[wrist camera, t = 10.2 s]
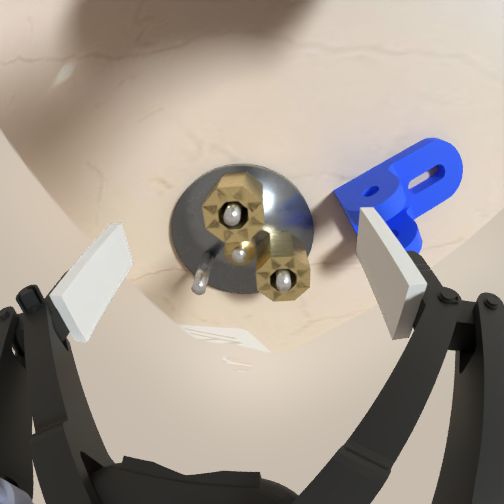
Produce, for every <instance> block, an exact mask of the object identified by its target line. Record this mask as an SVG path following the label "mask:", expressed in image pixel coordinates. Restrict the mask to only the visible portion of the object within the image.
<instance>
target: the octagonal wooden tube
mask: <svg viewBox="0 0 504 504" xmlns="http://www.w3.org/2000/svg"><path fill="white" fill-rule="evenodd" d="M232 201H239V202H240V203H241V204H242V205H244V206H245V207H243V208H242V210H241V216H240V221H239V223H238V224H236V225H234V226H230V225H227V224H226V223H225V222H224V219H223V216H224V213H225V210H226V207H227V202H232ZM202 209H203V215H204V222H205V228H206V229H207V230H208V231H209V232H211V233H212V234H213V235H215V236H216V237H217V238H219V239H220V240H221V241H223V242H224V243H231V242H248V241H249V240H250V239H251V238H252V237H253V236H254V235H255V234H256V233H257V232H258V231H259V230H260V229H261V228H262V227H263V226H264V197H263V184H262V183H260V182H259V181H258V180H257V179H256V178H254V177H253V176H252V175H251V174H249V173H248V172H247V171H237V172H225V173H224V174H223V175H222V176H221V177H220V179H219V180H218V181H217V182H216V183H215V185H214V186H213V187H212V188H211V190H210V192H209V194H208V196H207V198H206V200H205V202H204V203H203V205H202Z"/></svg>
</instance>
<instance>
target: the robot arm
mask: <svg viewBox="0 0 504 504" xmlns="http://www.w3.org/2000/svg"><path fill="white" fill-rule="evenodd" d="M356 254H357V256H358V258H359V260H360V263H361V265H362V267H363V269H364V272H365V274H366V276H367V278H368V281H369V283H370V285H371V288H372V290H373V292H374V295H375V297H376V300H377V302H378V304H379V307H380V309H381V311H382V314H383V317H384V319H385V322H386V324H387V327H388V329H389V332H390V335H391V338H392V340H396V339H402V338H409V336H410V333H411V331H412V328H414V332H413V334H412V337H411V338H410V340H409V342H408V344H407V346H406V348H405V350H404V352H403V354H402V356H401V358H400V359H399V361H398V363H397V365H396V367H395V368H394V370H393V372H392V374H391V375H390V377H389V379H388V380H387V382H386V384H385V385H384V387H383V389H382V390H381V392H380V394H379V395H378V397H377V398H376V400H375V401H374V403H373V405H372V406H371V408H370V409H369V411H368V412H367V414H366V415H365V417H364V418H363V420H362V421H361V422H360V424H359V425H358V427H357V428H356V430H355V431H354V432H353V434H352V435H351V436H350V438H349V439H348V440H347V442H346V443H345V444H344V445H343V446H342V447H341V448H340V449H339V450H338V451H337V452H336V453H335V455H334V456H333V457H332V458H331V460H330V461H329V462H328V463H327V464H326V466H325V467H324V468H323V469H322V470H321V472H320V473H319V474H318V475H317V476H316V477H315V478H314V480H313V481H312V482H311V483H310V484H309V485H308V486H307V488H305V490H304V491H303V492H302V493H301V494H300V495H297V494H296V493H295V492H293V491H292V490H290V489H288V488H287V487H285V486H283V485H281V484H279V483H276V482H273V481H270V480H266V479H262V478H261V475H260V472H236V471H219V472H212V473H204V474H196V475H183V474H180V473H178V472H175V471H173V470H170V469H168V468H166V467H163V466H161V465H159V464H156V463H154V462H150V461H145V460H140V459H135V458H131V457H127V456H124V457H123V461H122V463H117V464H115V463H114V462H113V460H112V459H111V458H110V456H109V455H108V453H107V451H106V449H105V446H104V444H103V442H102V439H101V437H100V434H99V432H98V430H97V427H96V425H95V422H94V419H93V417H92V414H91V411H90V409H89V406H88V403H87V400H86V397H85V394H84V391H83V389H82V385H81V382H80V379H79V375H78V372H77V369H76V365H75V361H74V358H73V354H72V351H71V346H70V343H69V341H68V339H67V338H66V337H67V335H68V333H69V332H70V334H71V335H72V337H73V338H74V340H75V341H79V342H86V343H87V342H88V340H89V338H90V336H91V335H92V333H93V331H94V329H95V327H96V325H97V324H98V322H99V320H100V318H101V316H102V315H103V313H104V311H105V309H106V308H107V306H108V304H109V303H110V301H111V299H112V297H113V296H114V294H115V293H116V291H117V289H118V287H119V286H120V284H121V283H122V281H123V279H124V278H125V276H126V274H127V273H128V271H129V270H130V268H131V266H132V265H133V263H134V262H133V259H132V256H131V253H130V250H129V246H128V243H127V240H126V236H125V233H124V230H123V226H122V223H121V222H120V223H111V224H110V225H109V226H108V227H107V228H106V229H105V230H104V231H103V232H102V233H101V234H100V235H99V236H98V238H97V239H96V240H95V241H94V242H93V243H92V244H91V245H90V246H89V248H88V249H87V250H86V251H85V252H84V253H83V254H82V256H81V257H80V258H79V259H78V260H77V261H76V263H75V264H74V265H73V266H72V267H71V269H70V270H68V271H67V272H66V273H65V274H64V275H63V276H62V277H61V279H60V280H59V281H58V282H57V284H56V285H55V286H54V288H53V289H52V290H51V291H50V292H49V294H48V295H47V296H46V298H45V299H44V298H43V296H42V294H41V292H40V290H39V288H38V286H37V285H30V286H27V287H25V288H24V289H22V290H21V291H20V292H19V293H18V295H17V296H16V301H17V302H18V304H19V306H20V307H21V309H22V311H23V313H21V314H17V313H16V312H15V310H14V308H13V307H11V306H10V307H6V308H3V309H2V310H1V311H0V504H33V502H32V498H33V464H32V459H33V463H34V467H35V470H36V474H37V477H38V481H39V484H40V487H41V490H42V494H43V497H44V499H45V502H46V504H370V503H371V502H372V501H373V499H374V498H375V496H376V495H377V493H378V492H379V491H380V489H381V488H382V486H383V485H384V483H385V482H386V480H387V478H388V476H389V474H390V472H391V468H392V466H393V464H394V462H395V461H396V459H397V457H398V456H399V454H400V452H401V450H402V449H403V447H404V445H405V443H406V442H407V440H408V438H409V436H410V434H411V432H412V431H413V429H414V427H415V425H416V423H417V421H418V419H419V417H420V415H421V413H422V411H423V409H424V406H425V404H426V402H427V400H428V398H429V395H430V393H431V391H432V388H433V386H434V384H435V381H436V379H437V376H438V374H439V371H440V369H441V366H442V363H443V361H444V358H445V355H446V353H447V350H455V351H456V355H455V356H456V357H455V378H454V390H453V391H454V392H453V401H452V410H451V417H450V425H449V431H448V437H447V443H446V448H445V453H444V458H443V463H442V467H441V471H440V476H439V479H438V483H437V487H436V490H435V494H434V497H433V501H432V504H504V304H503V302H502V301H501V300H500V298H498V297H497V296H496V295H494V294H491V293H482V294H480V295H479V297H478V298H477V301H476V302H469V301H463V300H461V297H460V296H459V294H458V293H457V292H455V291H454V290H452V289H450V288H447V287H443V286H442V285H441V283H440V282H439V280H438V279H437V277H436V276H435V275H434V273H433V272H432V270H430V267H429V266H428V265H427V263H426V262H425V260H424V259H423V258H422V256H420V255H419V254H418V253H416V252H415V251H405V249H404V248H403V246H402V245H401V244H400V242H399V241H398V239H397V238H396V237H395V235H394V234H393V232H392V231H391V230H390V228H389V227H388V226H387V224H386V223H385V222H384V220H383V219H382V218H381V216H380V215H379V214H378V212H377V211H376V210H375V209H374V207H360V214H359V226H358V237H357V247H356ZM12 348H13V349H14V351H15V355H14V354H13V352H12ZM32 416H33V421H34V427H35V434H33V435H32Z"/></svg>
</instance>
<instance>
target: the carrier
mask: <svg viewBox="0 0 504 504" xmlns="http://www.w3.org/2000/svg"><path fill="white" fill-rule="evenodd" d="M237 171H247V172H248V173H249V174H251V175H252V176H253V177H254V178H256V179H257V180H258V181H259V182H260V183H262V184H263V197H264V226H263V227H262V228H261V229H260V230H259V231H258V232H257V233H256V234H255V235H254V236H253V237H252V238H251V239H250V240H249V241H248V242H231V243H224V242H223V241H221V240H220V239H219V238H217V237H216V236H215V235H213V234H212V233H211V232H209V231H208V230H207V229H206V228H205V222H204V215H203V209H202V205H203V203H204V202H205V200H206V198H207V196H208V194H209V192H210V190H211V188H212V187H213V186H214V185H215V183H216V182H217V181H218V180H219V179H220V177H221V176H222V175H223V174H224V173H225V172H237ZM243 207H245V206H244V205H242V204H241V203H240V202H239V201H232V202H227V207H226V210H225V213H224V216H223V219H224V222H225V223H226V224H227V225H230V226H234V225H236V224H238V223H239V221H240V216H241V210H242V208H243ZM172 234H173V241H174V244H175V248H176V250H177V252H178V255H179V257H180V258H181V260H182V262H183V263H184V264H185V266H186V267H187V268H188V269H189V270H190V271H191V272H192V273H193V274H194V275H195V278H194V281H193V284H192V288H191V289H192V291H193V292H194V293H195V294H197V295H202V294H204V293H205V290H206V286H207V284H208V285H210V286H212V287H214V288H217V289H220V290H223V291H227V292H231V293H239V294H250V293H258V292H261V293H262V294H263V295H265V296H266V297H268V298H269V299H271V300H272V301H291V300H295V299H297V298H298V297H299V296H300V295H301V294H303V293H304V292H305V291H306V290H307V289H308V288H310V266H309V262H308V258H307V257H308V255H309V253H310V250H311V247H312V243H313V234H314V230H313V221H312V216H311V213H310V210H309V208H308V205H307V203H306V201H305V199H304V197H303V196H302V194H301V193H300V192H299V190H298V189H297V188H296V187H295V186H294V185H293V184H292V183H291V182H290V181H289V180H288V179H286V178H285V177H284V176H282V175H280V174H279V173H277V172H275V171H273V170H270V169H268V168H265V167H262V166H258V165H252V164H231V165H225V166H222V167H218V168H215V169H213V170H211V171H209V172H207V173H205V174H204V175H202V176H200V177H199V178H198V179H197V180H195V181H194V182H193V183H192V184H191V185H190V186H189V187H188V189H187V190H186V191H185V192H184V194H183V195H182V197H181V198H180V200H179V202H178V204H177V206H176V209H175V212H174V216H173V222H172Z"/></svg>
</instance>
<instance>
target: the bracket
mask: <svg viewBox="0 0 504 504" xmlns="http://www.w3.org/2000/svg"><path fill="white" fill-rule="evenodd" d="M436 165H438V171H437V173H436V174H435V175H433V176H431V177H430V178H428V179H426V180H425V181H423V182H421V183H420V184H418V185H416V186H415V187H413V188H411V189H408V184H409V182H410V181H411V180H412V179H414V178H416V177H417V176H419V175H421V174H423V173H424V172H426V171H428V170H429V169H431V168H433V167H434V166H436ZM462 173H463V165H462V160H461V157H460V154H459V153H458V151H457V150H456V148H455V147H454V146H453V145H451V144H450V143H448V142H446V141H443V140H440V139H437V138H426V139H424V140H422V141H420V142H418V143H416V144H414V145H413V146H411V147H409V148H407V149H406V150H404V151H402V152H400V153H398V154H397V155H395V156H393V157H391V158H390V159H388V160H386V161H384V162H383V163H381V164H379V165H377V166H376V167H374V168H372V169H370V170H369V171H367V172H365V173H363V174H362V175H360V176H358V177H356V178H355V179H353V180H351V181H349V182H348V183H346V184H344V185H342V186H341V187H339V188H337V189H336V190H334V191H333V192H334V194H335V195H336V197H337V199H338V201H339V202H340V204H341V206H342V208H343V210H344V212H345V213H346V215H347V217H348V219H349V221H350V223H351V225H352V226H353V228H354V230H355V232H356V234H357V236H358V226H359V214H360V207H374V209H375V210H376V211H377V212H378V214H379V215H380V216H381V218H382V219H383V220H384V222H385V223H386V224H387V226H388V227H389V228H390V230H391V231H392V232H393V234H394V235H395V237H396V238H397V239H398V241H399V242H400V244H401V245H402V246H403V248H404V249H405V251H415V252H416V253H419V252H420V250H421V247H422V239H421V236H420V233H419V230H418V227H417V224H416V223H415V221H414V219H415V218H417V217H419V216H420V215H422V214H424V213H425V212H427V211H428V210H430V209H432V208H433V207H435V206H437V205H438V204H440V203H442V202H443V201H445V200H446V199H448V198H449V197H451V196H452V195H453V194H454V193H455V191H456V190H457V188H458V187H459V184H460V182H461V179H462Z"/></svg>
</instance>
